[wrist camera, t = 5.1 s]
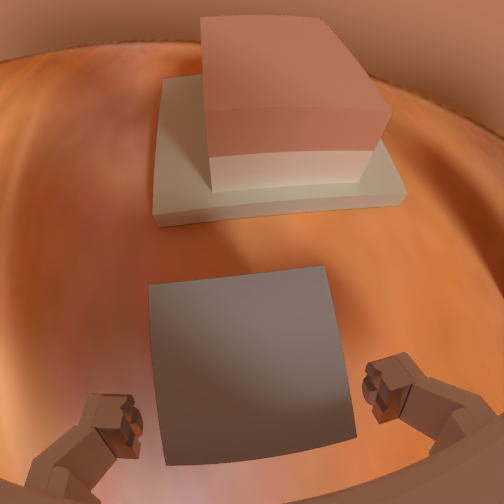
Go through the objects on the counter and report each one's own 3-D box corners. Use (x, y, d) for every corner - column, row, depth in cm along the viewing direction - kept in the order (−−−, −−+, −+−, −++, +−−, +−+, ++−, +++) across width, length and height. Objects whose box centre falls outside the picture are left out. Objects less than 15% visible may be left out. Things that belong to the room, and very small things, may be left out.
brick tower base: (158, 227, 18) (121, 139, 11) (165, 92, 24) (153, 19, 17) (398, 205, 19) (451, 131, 13) (338, 85, 25) (356, 19, 18)
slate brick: (201, 427, 13) (166, 465, 6) (189, 333, 15) (148, 284, 8) (299, 414, 14) (357, 437, 7) (284, 322, 16) (324, 264, 9)
